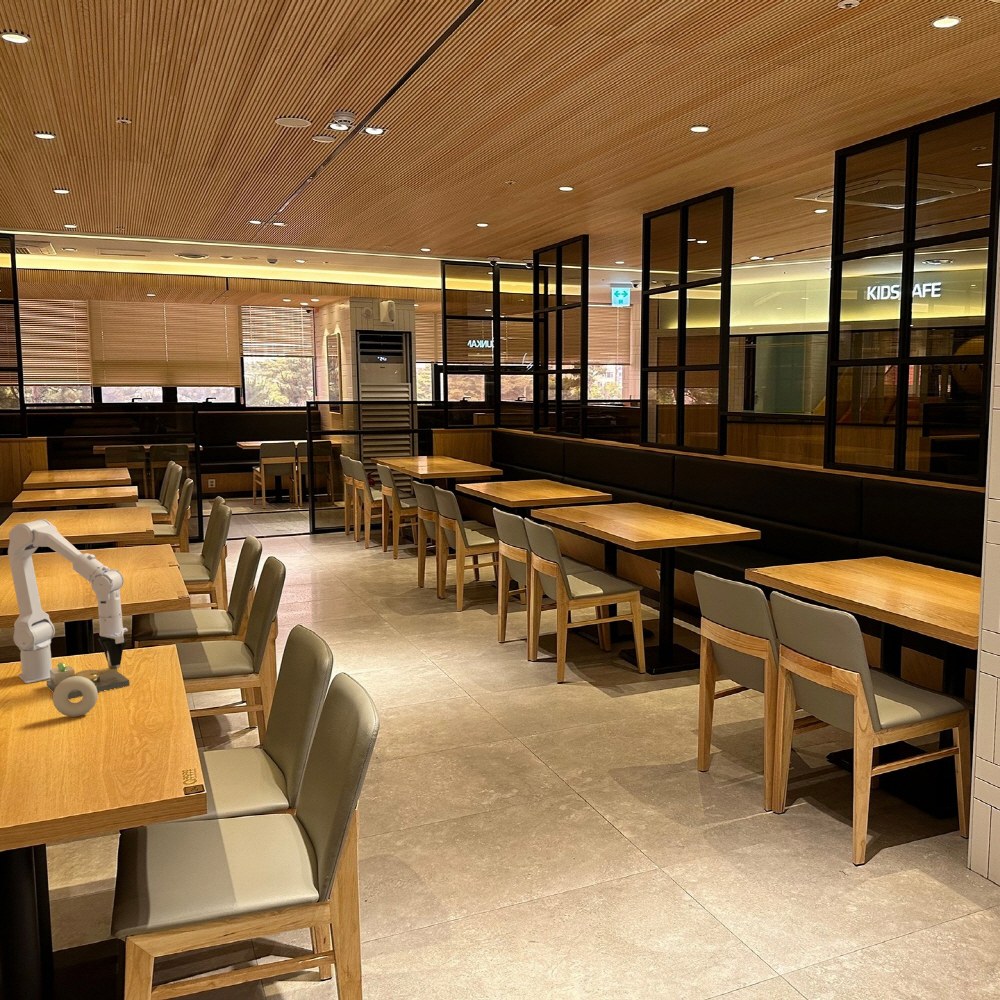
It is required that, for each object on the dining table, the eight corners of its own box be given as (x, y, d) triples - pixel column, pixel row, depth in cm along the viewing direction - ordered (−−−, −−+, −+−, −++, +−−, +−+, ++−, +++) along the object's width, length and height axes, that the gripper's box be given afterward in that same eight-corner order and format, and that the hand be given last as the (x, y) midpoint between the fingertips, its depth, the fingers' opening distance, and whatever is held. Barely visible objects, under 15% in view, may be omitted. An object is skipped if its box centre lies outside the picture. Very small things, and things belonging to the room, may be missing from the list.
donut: (99, 710, 221) (96, 671, 220) (99, 715, 218) (96, 675, 217) (54, 717, 217) (51, 677, 216) (53, 721, 214) (50, 681, 213)
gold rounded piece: (78, 685, 236) (76, 659, 235) (72, 680, 240) (70, 654, 240) (123, 675, 243) (122, 651, 242) (117, 670, 248) (115, 646, 247)
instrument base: (47, 686, 241) (45, 664, 240) (112, 672, 251) (111, 651, 251) (61, 700, 229) (59, 677, 228) (129, 685, 240) (127, 663, 239)
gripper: (134, 617, 239) (137, 666, 241) (117, 608, 250) (121, 654, 252) (106, 622, 235) (110, 672, 237) (90, 612, 246) (94, 660, 248)
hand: (114, 663), depth 244 cm, fingers closed on gold rounded piece, 3 cm apart
